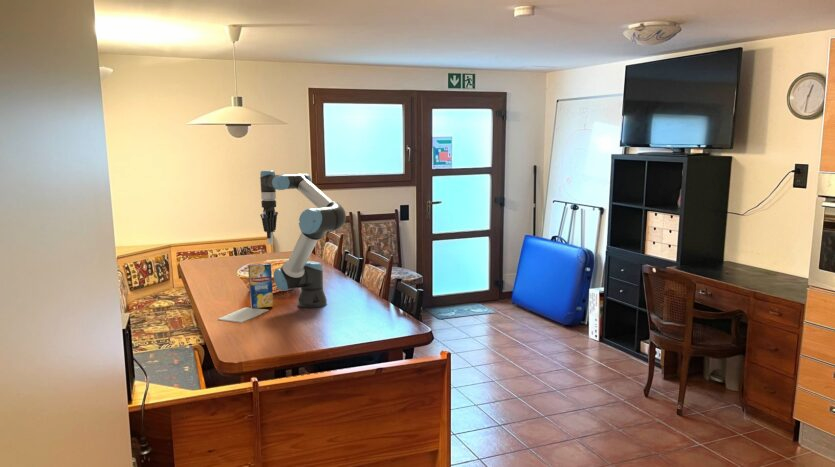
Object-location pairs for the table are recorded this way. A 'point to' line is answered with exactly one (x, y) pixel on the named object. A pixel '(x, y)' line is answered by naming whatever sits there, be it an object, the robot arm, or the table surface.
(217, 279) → the table surface
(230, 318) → the board
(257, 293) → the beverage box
